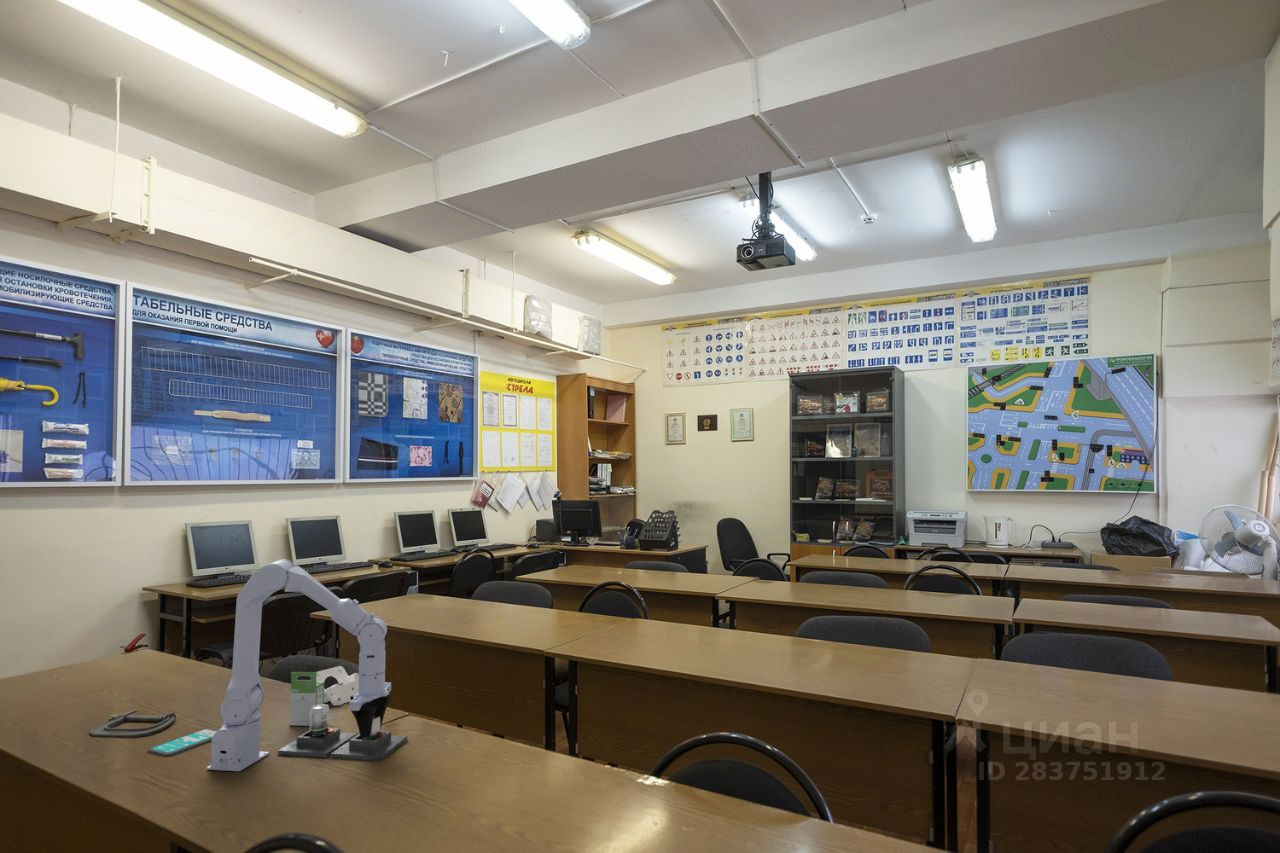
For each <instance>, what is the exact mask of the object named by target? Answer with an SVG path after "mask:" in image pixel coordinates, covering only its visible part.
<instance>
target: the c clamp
mask: <svg viewBox="0 0 1280 853" xmlns="http://www.w3.org/2000/svg"><path fill="white" fill-rule="evenodd" d="M136 712H138V710H137V709H133V710H131V711H128V712H125V713H119V714H111V715H110V716H109V717H108V719H107V720H108V721H106V722H103V723H102V724H99V725H97V726H95V727H94V728H92V729H91V730H90V731H89V735H90V736H92V737H97V738H140V737H145V736H149V735H150V736H151V735H152V734H156V733H158V732H161V731H162V730H165V729H166V728H167V727H169V726H170V725H171V724H173V722H175V720H176V718H177V715H176V713H174V712H168V713H166V714H165V715H132V714H134V713H136ZM125 722H153V723H154V722H155V723H156V722H157V724H153V725H151V726H146V727H117V726H119V725H121V724H123V723H125Z"/></svg>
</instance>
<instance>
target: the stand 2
mask: <svg viewBox="0 0 1280 853" xmlns="http://www.w3.org/2000/svg"><path fill="white" fill-rule="evenodd" d="M407 741H408V735H398V734H397V735H393V734H392V731H391V730H381V729H380V734H379V738H377V739H376V740H361V736H360V732H358V733H357V735H356V736H355V737H353V738H352V739H350V740H349V742H347V743H346V744H344V745H343V746H341V747H340V748H338V749H337V750H335V751H334V752H333V753H331V755H330V759H337V758H338V759H340V760H354V761H355V760H356V761H358V760H359V761H369V762H370V761H372V762H382V761H383V760H384V759H385V758H387V757H388V756H390V755H391V754H392V753H393V752H395V751H396V750H397V749H398V748H399V747H401V746H402V745H404V743H406V742H407ZM338 759H337V760H338Z"/></svg>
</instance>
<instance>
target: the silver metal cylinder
mask: <svg viewBox="0 0 1280 853" xmlns="http://www.w3.org/2000/svg"><path fill="white" fill-rule="evenodd" d="M329 710H330V705H329V704H326V703H323V704H319V705H315V706H312V707H311V708H310V726H308V731H309V735H310V736H322V735H325V734H327V731H328V728H330V726H329V718H330V717H329V716H330V714H329V712H330V711H329Z"/></svg>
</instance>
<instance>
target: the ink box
mask: <svg viewBox="0 0 1280 853" xmlns="http://www.w3.org/2000/svg"><path fill="white" fill-rule="evenodd" d="M317 672H318V671H291V672H290V675H291V676H290V689H289V691H290V695H289V699H290V700H289V719H288V720H289V721H288V722H289V723H288V725H289V726H302V727H304V726H305V727H310V708H311V707H312V706H315V705H319V704H324V703H323V701H324V688H325V682H324V683H317V682H316V676H318V675H317ZM303 676H304V677H308V678H310V679H298V678H300V677H303Z"/></svg>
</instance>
